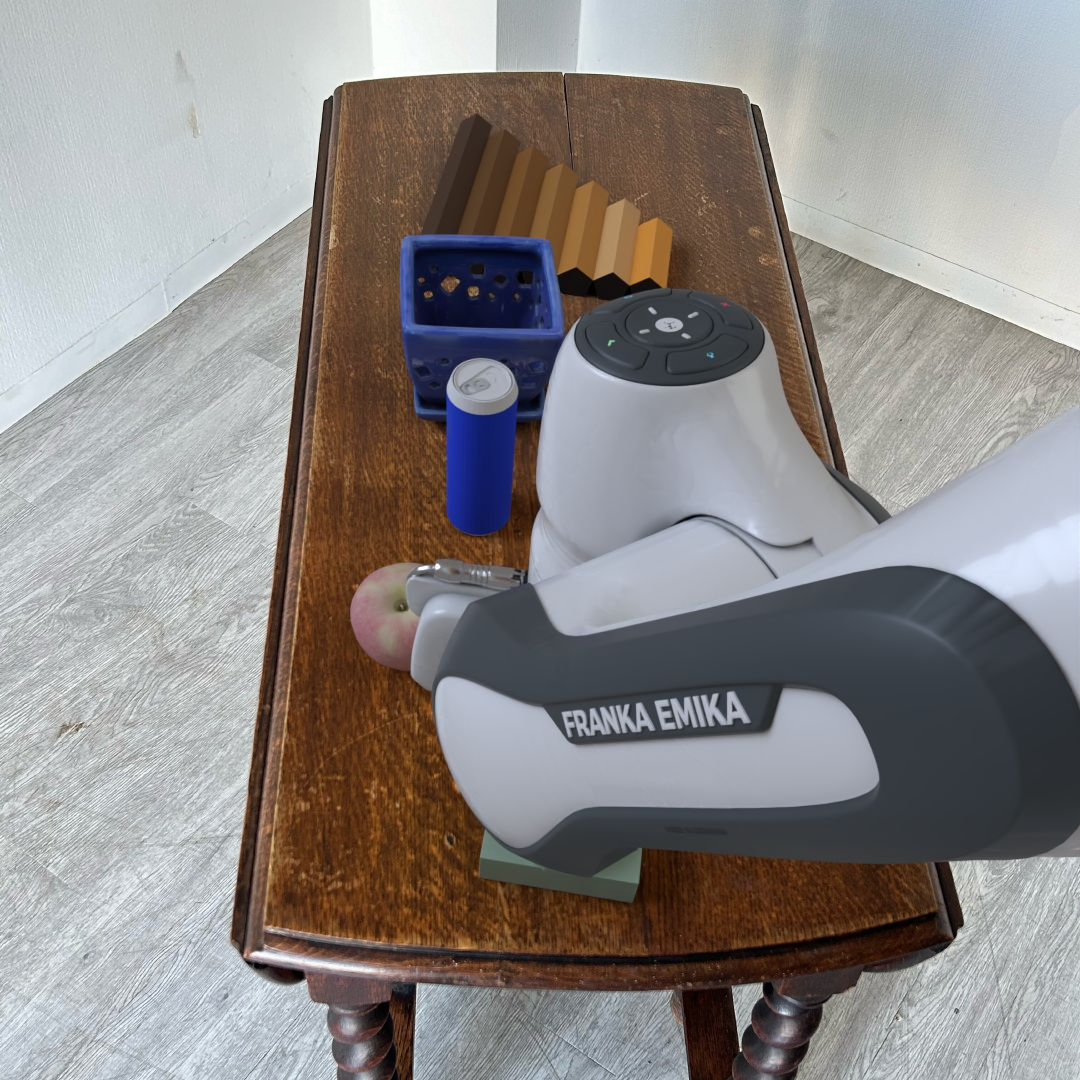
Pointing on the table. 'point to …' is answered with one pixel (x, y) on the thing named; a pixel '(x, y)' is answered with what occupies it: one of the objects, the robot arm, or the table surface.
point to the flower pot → (479, 315)
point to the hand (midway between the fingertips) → (593, 735)
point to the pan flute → (547, 215)
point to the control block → (560, 874)
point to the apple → (385, 616)
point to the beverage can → (480, 445)
